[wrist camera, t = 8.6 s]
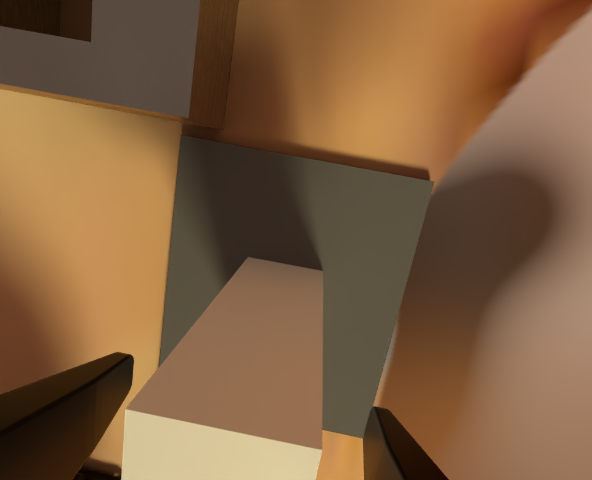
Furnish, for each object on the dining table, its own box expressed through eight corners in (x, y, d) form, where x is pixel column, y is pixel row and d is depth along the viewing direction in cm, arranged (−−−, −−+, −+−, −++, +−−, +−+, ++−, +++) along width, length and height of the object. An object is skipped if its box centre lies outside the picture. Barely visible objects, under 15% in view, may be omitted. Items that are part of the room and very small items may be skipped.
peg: (309, 339, 15) (289, 596, 6) (238, 325, 15) (116, 557, 6) (323, 270, 14) (322, 450, 5) (247, 256, 14) (125, 408, 5)
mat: (362, 431, 16) (363, 438, 16) (160, 388, 16) (156, 394, 16) (430, 181, 13) (434, 181, 13) (185, 135, 14) (181, 134, 13)
